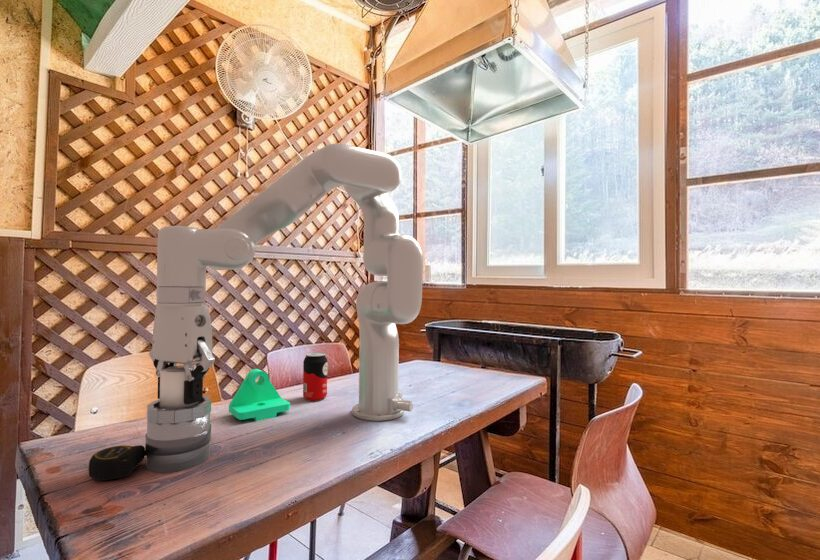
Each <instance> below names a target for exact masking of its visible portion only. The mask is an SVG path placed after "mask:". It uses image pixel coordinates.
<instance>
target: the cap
mask: <svg viewBox="0 0 820 560" xmlns="http://www.w3.org/2000/svg"><path fill="white" fill-rule="evenodd" d="M195 368H196V365H193V366H192V369H193V371H194V369H195ZM159 377H160V399H159V400H160V407H161V408H164V409H179V408H185V407H190V406H193V405H196V404H197V403H199V401H198V402H195V403H192V404H188V405H187V404H184V381H187V377H186V372H185V368H184V364H179V365H176V366H172V367H168V368H166V369H163V370H161V371H160V376H159Z"/></svg>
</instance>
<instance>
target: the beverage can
mask: <svg viewBox="0 0 820 560" xmlns="http://www.w3.org/2000/svg"><path fill="white" fill-rule="evenodd" d="M302 363H303V366H302V367H303V368H302V369H303V370H302V373H303V375H302V377H303V378H302V386H303V388H302V396H303V398H304V399H305V400H306V401H310V402H319V401H323V400H324V399H325V398H326V397H327V396H328V358H327V357H326V353H325V352H317V351H316V352H309V353H306V354H305V357H304V359H303V362H302Z"/></svg>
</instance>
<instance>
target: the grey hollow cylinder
mask: <svg viewBox="0 0 820 560" xmlns="http://www.w3.org/2000/svg"><path fill="white" fill-rule="evenodd" d="M211 411H212V399H211V398H210V396H208V395H203V399H202V400H201V401H199V403H197V404H196V405H193V406H190V407H185V408H179V409H164V408H161V407H160V399H157V400H154V401H152V402H150V403H149V404H147V405H146V421H147V423H146V424H147V425H146V433H145V437H144V438H145V441H144V442H145V443H144V445H145V446H144V448H145V451H146V452H147V456H146V464H145V465H146V469H147V470H148V471H151V472H153V473H154V472H155V473H174V472H179V471H185V470H189V469H191V468H195V467H197V466H199V465H201V464H203V463H205V462H206V461H207V460H208V459H209V458H210V454H211V453H210V445H211V444H210V442H211V441H212V424H211Z"/></svg>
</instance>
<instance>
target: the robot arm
mask: <svg viewBox="0 0 820 560" xmlns="http://www.w3.org/2000/svg"><path fill="white" fill-rule="evenodd" d="M402 177H403V176H402V169H401V166H400V164H399V162H398V160H397V159H395V158H394V157H393V156H391V155H390V154H388V153H385V152H381V151H377V150H372V149H367V148H364V147H360V146H359V147H358V146H353V145H348V144H342V143H330V144H327V145H325V146H323V147H321V148H320V149H318V150H315V151H313V152H312V153H310V154H308V155H306V156H305V157H304V158H303V159H302V160H300V161H299V162H297V164H295V165H294V166H293V167H292V168H290V169H289V170H288V171H287V172H285V173H284V174H283V175H281V176H280V177H279V178H278V179H276V180H275V181H273V183H271V184H270V185H269V186H267V188H265V189H264V190H262V191H261V192H260V193H259V194H257V195H256V196H255V197H254V198H252V199H251V200H250V201H249V202H248V203H246V205H244V206H243V207H241V208H240V209H239V210H238V211H236V212H235V213H234V214H233V215H231V216H230V217H228V218H227V219H226V220H225V221H224V222H222V223H221V224H220V225H218V226H217V227H216V228H213V229H212V228H208V229H205V228H203V229H202V228H199V227H194V226H193V227H192V226H184V225H167V226H164V227H161V228H160V229H159V231H158V233H157V249H156V250H157V251H156V253H157V255H156V256H157V257H156V258H157V259H156V263H157V264H156V307H155V311H154V312H155V313H154V319H153V320H154V321H153V328H152V342H151V343H152V345H151V346H152V348H151V349H150V350H149V353H148V356H149V358H150V359H151V361H152V362H153V363H152V364H153V366H154V368H155V376H157V400H160V371H161V370H163V369H166V368H168V367H172V366H177V364H179V365H184V368H185V372H186V377H187V381H184V404H187V405H188V404H192V403H195V402H198V401H201V400H202V399H203V396H204V394H203V392H204V390H203V389H204V379H205V378H206V376H207V375H206V374H207V373H208V371H209V370H210V369H211V367H212V365H214V363H215V362H216V359H215V357H214V355H213V331H212V330H213V329H212V319H211V313H210V310H209V309H210V308H209V306H208V305H207V304H206V301H207V300H206V298H207V297H206V296H207V293H206V288H207V285H206V284H207V267H208V268H210V269H213V270H216V271H231V270H232V271H234V270H239V269H243V268H245V267H246V266H247V265H249V264H251V262H252V261H253V259H254V258H255V254H256V245H257V244H258V243H260V242H261V241H263V240H265V239H266V238H267V237H269V236H271V235H272V234H274V233H276V232H277V231H280V230H282V229H285V228H287V227H289V226H290V225H291V224H293V223H295V222H296V221H298V220H299V219H300V218H301V217H302V216H303V215H304V214H306V213H307V212H308V211H309V210H310V209H311V208H312V207H313V206H314V205H315V204H317V203H318V202H319V201H320V200H322V199H324V197H325V196H326V195H328V194H329V193H330V192H331V191H332V190H334V189H336V188H339V187H342V186H343V188H344V190H345V192H346V193H347V195H348V196H350V197H349V198H351V199H352V200H353V201H354V202H355V204H357V206H358V207H359V209H360V210H361V213H362V216H363V226H364V227H363V231H364V232H363V251H362V252H363V255H362V259H363V265H364V268H365V270H366V272H368V273H369V274H370V275H372V276H379V277H386V281H373V282H370V283H367V284H366V285H363V286H362V287H361V289H359V292H358V293H357V297H356V300H355V304H356V305H355V307H356V309H355V310H356V315H357V319H358V329H359V332H358V333H359V348H358V349H359V352H358V353H359V354H358V355H359V356H358V357H359V358H358V359H359V361H358V363H359V364H358V403H355V405H353V407H352V409H351V414H352V416H354V417H356V418H357V419H360V420H366V421H374V422H375V421H377V422H378V421H389V420H394V419H398V418H400V417H401V416H403V415H404V414H405V412H411V413H412V412H413V408H414V404H413V401H412V400H408V399H404V398H403V393H402V392H399V361H400V358H399V357H400V356H399V353H400V352H399V351H400V339H399V332H398V328H397V325H406V324H410V323H412V322H413V321H414V320H415V319H416V318H417V317H418V315H419V314H420V312H421V308H422V303H423V282H424V281H423V278H424V275H423V273H424V256H423V252H422V249H421V246H420V244H419V243H418V241H417V240H416V239H415V238H414V237H412V236H411V235H408V234H404V233H400V217H399V212H398V208H397V206H396V204H395V203H394V201H393V199H392V198H391V196H390V195H389V193H392V192H393V191H395V190H396V189H397V188H398V187H399V185H400V183H401V181H402ZM192 366H196V368H195V369H194V371H193V369H192Z"/></svg>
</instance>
